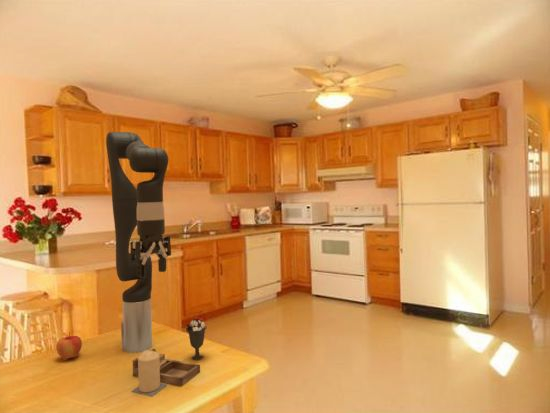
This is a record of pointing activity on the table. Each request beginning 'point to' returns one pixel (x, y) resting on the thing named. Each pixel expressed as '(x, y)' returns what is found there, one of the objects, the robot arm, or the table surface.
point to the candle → (149, 371)
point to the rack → (173, 371)
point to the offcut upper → (161, 357)
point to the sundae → (196, 335)
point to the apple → (69, 347)
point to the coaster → (149, 392)
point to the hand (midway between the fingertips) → (152, 274)
